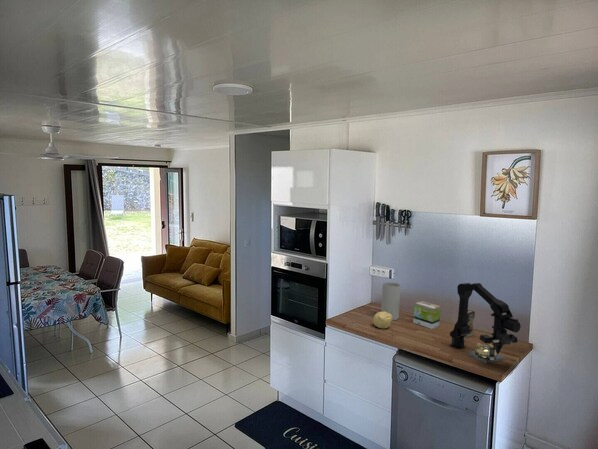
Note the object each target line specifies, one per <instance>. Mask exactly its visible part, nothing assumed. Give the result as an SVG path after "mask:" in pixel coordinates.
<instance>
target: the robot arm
mask: <svg viewBox="0 0 598 449" xmlns="http://www.w3.org/2000/svg"><path fill="white" fill-rule="evenodd" d="M456 289H457V294H458V297H459V303H458V305H459V306H458V314H457V315H458V316H457V321H456V323H455V324H454V325H453V326H454V327H453V329H452V330H451V331H450V332H449V336H450V338H451V343H450V344H449V346H451V347H453V348H455V349H457V350H459V349H464V348H466V346H465V338H464V337H466V336H467V334H469V332H470V325H468V324H467V312H468V310H469V300H470V298H471V296H472V295H473V291H474V292H475V293H477V295H478V296H480V297H481V298H482V299H483V300H484V301H485V302H486V303H488V305H489V306H490V309H491V311H492V313H491V314H490V316H491V317H494V318H493V325H492V326H491V328H492V329H493V331H492V332H491V336H490V335H488V334H480V335H479V340H480V341H481V342H482V343H484V344H491V343H492V346H493V347H494V348H495V350H496V353H497V354H499V353H500V352H501V350H502V348H503V346H505V345H511V344H512V343H514V344H515V343H518V339H519V338H518V337H517V336H516V335H515V334H512V333H508V331H511V332H513V333H516V334H517V333H518V332H520V330H521V328H522V325H521V323H520V322H519V319H518V318H514V316H513V314H512V312H511V310H510V306H509V305H508V304H507V302H505V301H503V300H501V299H498V298H497V297H495V296H494V295H493V294H492V293H491V292H490V291H489V290H488V289H486V288H485V287H484V286H483V285H482V284H481V282H474V283H470V282H463V283H459V284H458V285H457V287H456ZM466 338H467V337H466ZM499 355H500V354H499Z"/></svg>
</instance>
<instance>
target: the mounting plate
mask: <svg viewBox="0 0 598 449" xmlns="http://www.w3.org/2000/svg"><path fill="white" fill-rule="evenodd" d="M466 355H467V356H469V357H470V358H473V359H475V360H477V361H479V362H481V363H483V364H484V365H488V364H492V363H496V362H497V363H498V362H500V361H503V360H504V361H505V357H506V356H503V355H501V354H497V355H496V358H494V360H490V359H489V358H484V357H480V356H478V355H477V354H476V353H475V350H471V351H467V353H466Z"/></svg>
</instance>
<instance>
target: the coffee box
mask: <svg viewBox="0 0 598 449" xmlns="http://www.w3.org/2000/svg"><path fill="white" fill-rule="evenodd" d="M475 314H476V311H474V310H471V309H468V312H467V324H468V325H470V332H469V334H467V336H466V337H463V338H464V339H465V338H469V337H472V336H474V328H475V316H476V315H475Z"/></svg>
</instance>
